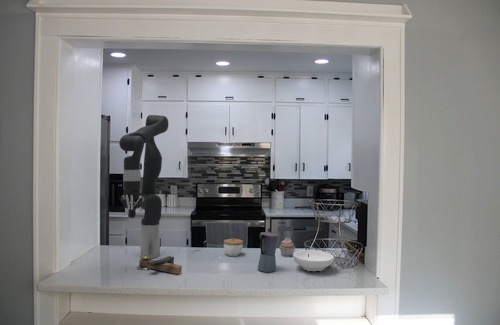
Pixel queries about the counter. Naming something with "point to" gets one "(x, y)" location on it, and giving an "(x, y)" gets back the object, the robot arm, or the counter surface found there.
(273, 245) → the moka pot
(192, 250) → the mounting bracket
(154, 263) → the keeper
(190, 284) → the counter surface
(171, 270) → the walnut link
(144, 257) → the pin base
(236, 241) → the lidded jar
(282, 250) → the cupcake
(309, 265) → the bowl
